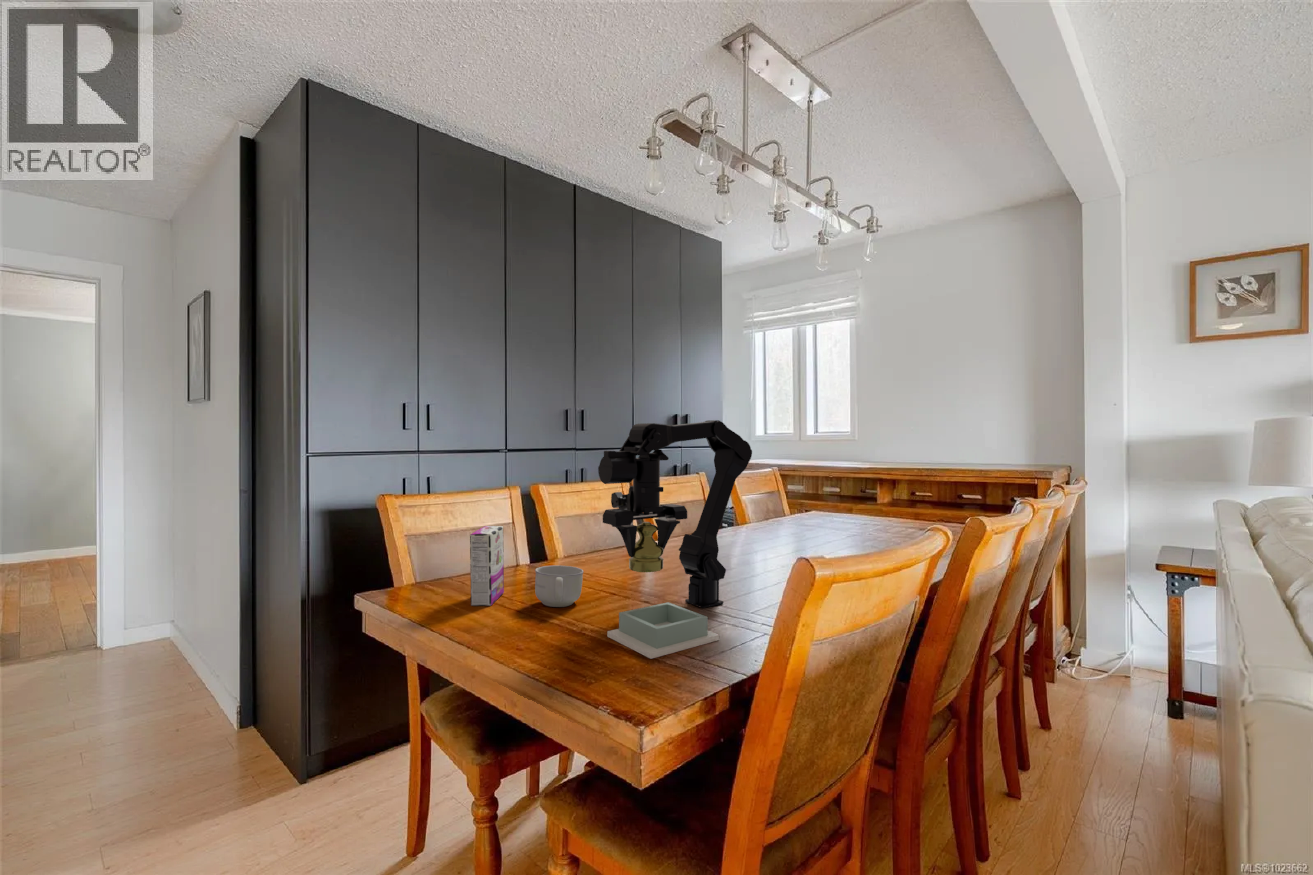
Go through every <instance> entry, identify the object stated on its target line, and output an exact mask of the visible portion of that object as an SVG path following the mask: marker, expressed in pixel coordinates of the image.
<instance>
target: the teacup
mask: <svg viewBox="0 0 1313 875" xmlns="http://www.w3.org/2000/svg"><path fill="white" fill-rule="evenodd" d="M534 572H535V581H534V582H535V583H534V590H535V593H534V594H535V596H536V598H537V599H538V600H539V601H541V602H540V603H542V604H543V605H544V606H546V607H551V608H552V607H553V608H565V607H569V606H572V605H573V604H574V602H576V601H577V600H578V599H579V598H580V597H581V594H582V588H583V578H584V577H583V575H584V570H583V569H582V568H580V567H577V566H572V565H571V566H570V565H559V564H557V565H552V564H551V565H544V566H540V567H536V568H535V570H534Z"/></svg>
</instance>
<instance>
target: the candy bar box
mask: <svg viewBox="0 0 1313 875" xmlns="http://www.w3.org/2000/svg"><path fill="white" fill-rule="evenodd" d="M469 547H470V548H469V555H470V556H469V558H470V559H469V560H470V564H469V565H470V606H471V607H472V606H473V607H491V606H492V605H493V604H495V602H496V601H497V600H498V599H499V598H500V597H501V596H502V595H503V594H504V593H505V581H504V580H505V576H504V573H505V572H504V571H505V570H504V567H505V566H504V564H505V563H504V562H505V561H504V526H503V525H485V526H482V527H481V528H479V529H477V530H475V531H474V532H472V533H470V534H469Z"/></svg>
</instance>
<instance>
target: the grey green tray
mask: <svg viewBox="0 0 1313 875" xmlns="http://www.w3.org/2000/svg"><path fill="white" fill-rule="evenodd" d="M708 619H709V617H708V616H706V615H704V614H701V613H698V612H696V611H692V610H691V609H687V608H684V607H682V606H680V605H677V604H674V603H673V602H672V603H671V602H669V601H668V602H664V603H658V604H653V605H649V606H644V607H638V608H635V609H630V610H626V611H620V612H618V628H616V629H612V630H607V638H608V639H609V638H610V639H611V640H613V641H615V642H617V643H619V644H621V645H622V646H625V647H627V648H628V649H631V650H632V651H635V652H637V653H639V654H640V655H643V656H644V657H646V658H648V659H655V658H659V657H663V656H665V655H666V656H667V655H670V654H674V653H677V652H680V651H684V650H687V649H692V648H695V647H698V646H703V645H706V644H710V643H714V642H716V641H720V635H719V634H718V633H716V632H713V631H711V630H709V629H708V627H709V626H708V624H709V622H708V621H709V620H708Z"/></svg>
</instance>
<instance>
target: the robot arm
mask: <svg viewBox="0 0 1313 875" xmlns="http://www.w3.org/2000/svg"><path fill="white" fill-rule="evenodd" d="M702 439H706V441H707V445H708V446H709V449H711V450H712V452H714V457H713V464H714V470H715V474H714V476H713V480H712V483H711V485H710V487H709V491H708V494H707V497H706V500H705V503H704V506H703V508H702V511H701V515H700V518H699V521H698V523H697V526H696V528H695V530H694V531H693V532H692V533H691V534H687V533H685V534H684V536H683V538H682V542H681V545H680V547H679V548H678V551H679V556H678V558H679V560H680V564H681V565H682V567H683V570H684V573H685V574H686V575H690V576H689V583H688V598H686V599H684V600H685V603H688V604H691V605H693V606H696V607H699V608H701V609H705V608H709V607H715V606H718V605H719V606H720V605H723V604H724V600H720V599H719V598H720V595H719V594H720V585H719V584H720V580H724V578H725V576H726V572H727V568H725V567H724V565H723V564H722V563H721V562H720V560H718V555H719V549H720V548H719V543H718V538H717V537H718V534H719V530H720V527H721V524H722V522H723V518H724V515H725V513H726V510H727V506H728V503H729V500H730V498H731V495H732V491H733V489H734V485H735V483H736V480H737V478H739V477H740V475H741V474H743V473H744V471H746V469H747V467H748V465H749V463H750V460H751V459H752V455H753V449H751V448H752V447H751V445H750V443H749V442H748V441H746V440H744V439H743V438H742V436H741V435H740V434H737V433H736V432H735V431H733V430H731V429H730V428H729V427H727V425H726V424H725V423H724V422H722V421H721V420H718V419H713V420H704V421H700V422H699V421H698V422H691V423H690V422H689V423H682V424H671V425H670V424H665V423H656V422H655V423H649V422H648V423H636V424H633V425H632V426H631V429H630V430H629V434H628V436H627V438H626V440H625V442H624V443H623V444H622V446H621V448H620V449H619V450H617V451H615V450H604V451H603V457H601V460H600V462H599V465H598V466H597V468H598V469H597V470H598V471H597V472H598V477H599V479H600V481H601V483H603V485H610V484H611V485H612V484H629V483H631V482H632V485H630V486H629V487H628V493H627V494H624V493H623V492H622V491H614V492H612V493H611V497H610V504H611V507H612V508H611V509H610V508H609V509H605V510H604V511H603V514H602V524H607V525H609V526H610V525H611V527H614V528H616V529H617V530H618V531H619V533H620V536H621V538H622V540H623V542H624V545H625V549H626V552H627V553H628V557H629V558H631V557H633V556H634V552H635V543H636V542H637V541H636V540H637V533H638V532H637V526H638V525H634V521H637V520H639V521H640V520H645V519H648V520H649V519H653V520H654V522H655V524H656V525H655V526H657V527H658V530H657V544H658V545H660V546H661V547H662V548H663V550H664V551H665V548H666V547H667V544H668V542H669V540H670V537H671V536H672V534H673V532H674V531H675V529H676V527H677V525H679V524H680V525H681V520H687V519H688V509H687V508H686V507H685V505H680V504H675V503H674V504H673V503H669V504H667V503H666V504H660V503H661V501H660V500H661V499H660V498H661V497H660V496H661V494H660V493H663V492H664V487H663V486H661V479H660V478H661V477H660V475H661V474H660V473H661V472H660V471H661V469H660V468H661V461H669V456H668V455H666V454H665V453H664V452H663V450H662V449H664V448H666V447H669V446H671V445H672V444H674V443H678V442H687V441H693V440H702ZM637 456H638V457H637Z"/></svg>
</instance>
